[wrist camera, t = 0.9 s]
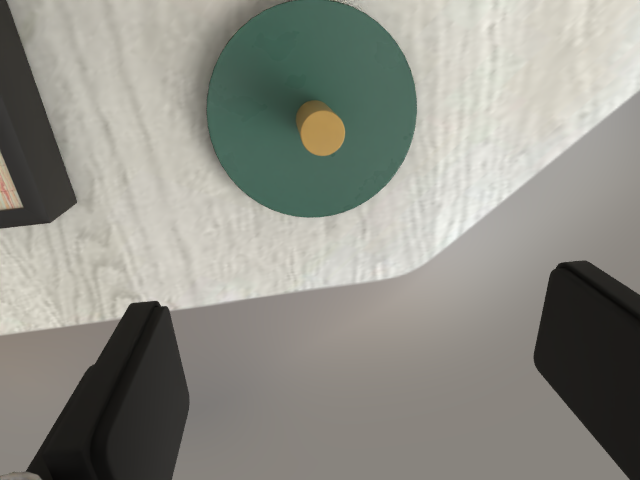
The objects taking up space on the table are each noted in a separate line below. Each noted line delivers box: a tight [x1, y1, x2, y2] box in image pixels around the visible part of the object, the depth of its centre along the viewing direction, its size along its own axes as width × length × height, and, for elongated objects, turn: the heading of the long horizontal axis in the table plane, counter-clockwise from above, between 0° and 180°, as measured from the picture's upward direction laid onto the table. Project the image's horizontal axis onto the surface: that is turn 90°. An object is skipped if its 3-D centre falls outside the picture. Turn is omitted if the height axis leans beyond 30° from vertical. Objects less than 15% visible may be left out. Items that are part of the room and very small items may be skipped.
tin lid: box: [207, 0, 417, 217], centre depth 25 cm, size 14×14×6 cm
